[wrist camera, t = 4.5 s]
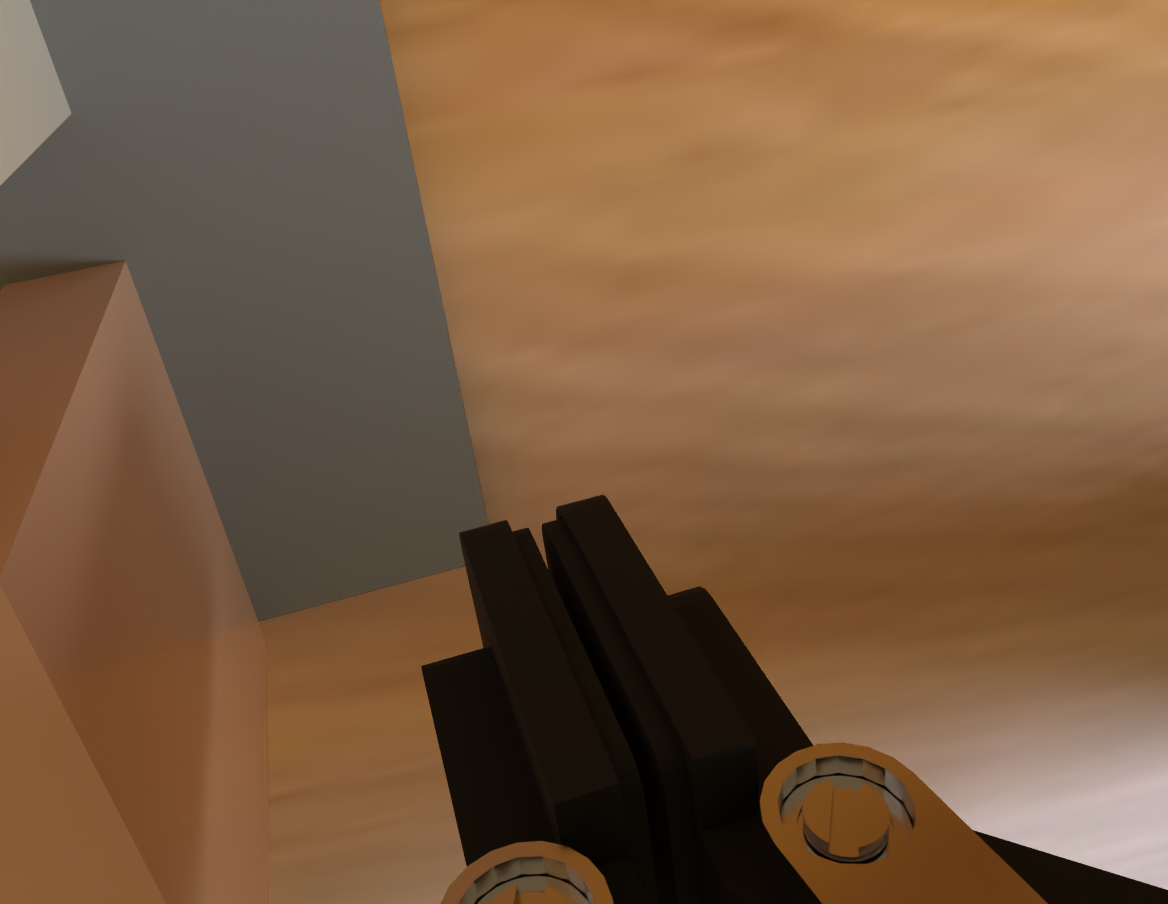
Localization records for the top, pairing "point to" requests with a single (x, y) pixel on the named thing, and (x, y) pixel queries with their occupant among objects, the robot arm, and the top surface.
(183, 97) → the mat
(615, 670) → the robot arm
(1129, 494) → the top surface
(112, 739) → the tile terracotta
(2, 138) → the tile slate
